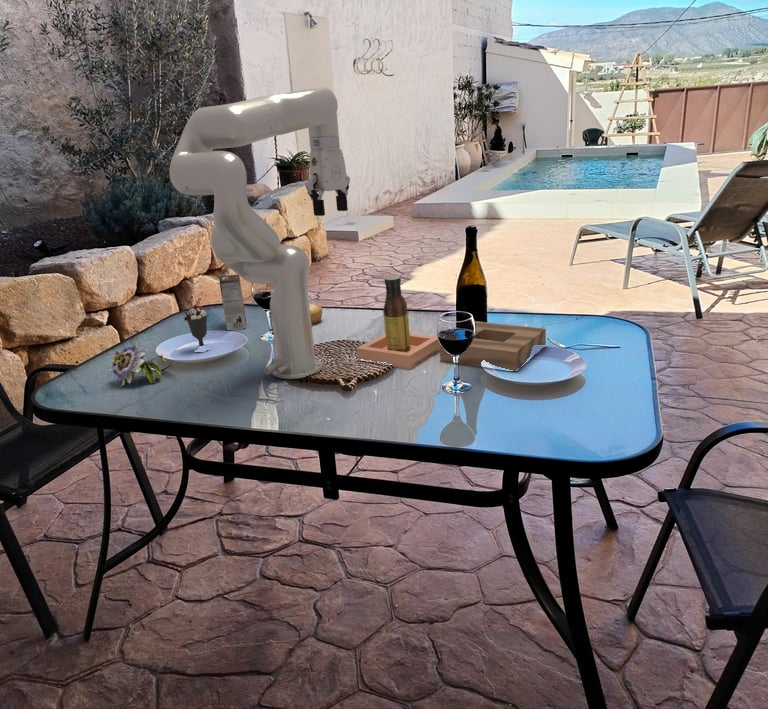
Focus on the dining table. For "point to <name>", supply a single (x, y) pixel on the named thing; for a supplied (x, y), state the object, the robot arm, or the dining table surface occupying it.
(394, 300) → the sauce bottle
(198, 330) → the sundae
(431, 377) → the dining table surface
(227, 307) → the coffee box
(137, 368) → the passion flower
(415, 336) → the tray
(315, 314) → the pastry
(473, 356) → the holder block
